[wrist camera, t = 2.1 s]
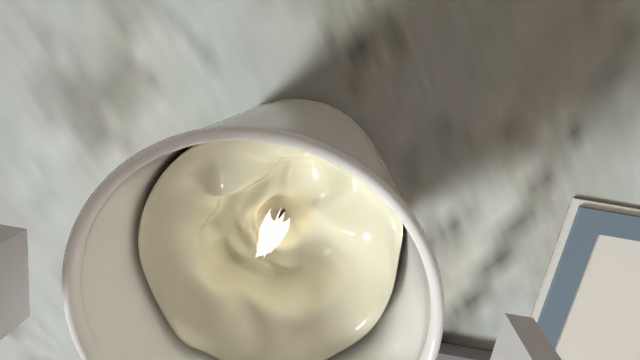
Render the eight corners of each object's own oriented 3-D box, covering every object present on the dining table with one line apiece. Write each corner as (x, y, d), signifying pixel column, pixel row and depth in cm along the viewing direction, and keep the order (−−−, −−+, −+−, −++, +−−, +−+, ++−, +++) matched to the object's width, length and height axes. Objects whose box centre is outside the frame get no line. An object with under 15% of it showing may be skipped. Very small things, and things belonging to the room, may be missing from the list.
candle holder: (327, 39, 21) (299, 37, 9) (432, 208, 23) (517, 377, 11) (165, 151, 23) (-21, 262, 11) (276, 296, 25) (213, 514, 13)
